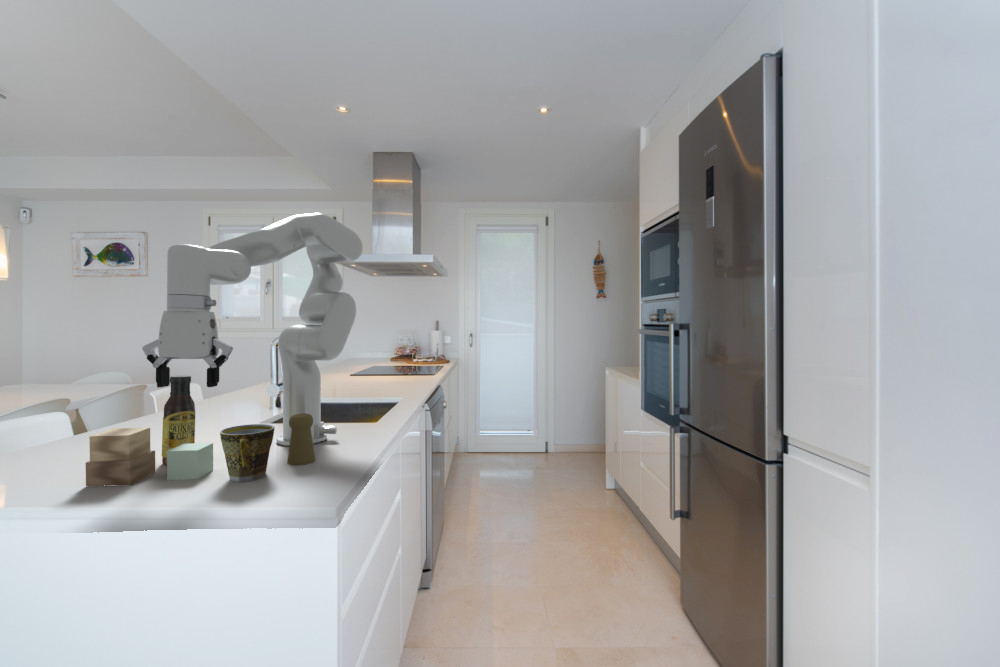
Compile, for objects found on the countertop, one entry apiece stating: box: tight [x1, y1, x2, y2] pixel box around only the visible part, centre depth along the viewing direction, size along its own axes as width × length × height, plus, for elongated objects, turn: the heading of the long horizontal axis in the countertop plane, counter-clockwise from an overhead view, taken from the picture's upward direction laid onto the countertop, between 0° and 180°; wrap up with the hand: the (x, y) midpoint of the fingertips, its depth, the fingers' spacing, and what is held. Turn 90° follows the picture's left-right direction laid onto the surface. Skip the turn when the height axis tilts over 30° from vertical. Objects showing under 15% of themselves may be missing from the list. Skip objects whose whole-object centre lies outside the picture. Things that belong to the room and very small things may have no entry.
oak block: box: [89, 427, 151, 462], centre depth 96 cm, size 7×7×5 cm
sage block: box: [166, 442, 214, 481], centre depth 99 cm, size 6×6×6 cm
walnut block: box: [85, 450, 156, 487], centre depth 96 cm, size 8×8×5 cm
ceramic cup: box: [219, 423, 275, 483], centre depth 96 cm, size 13×10×10 cm
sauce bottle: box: [161, 375, 196, 466], centre depth 108 cm, size 7×6×20 cm
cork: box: [286, 413, 316, 466], centre depth 109 cm, size 6×6×11 cm
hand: (187, 386), depth 98 cm, fingers open, 9 cm apart
